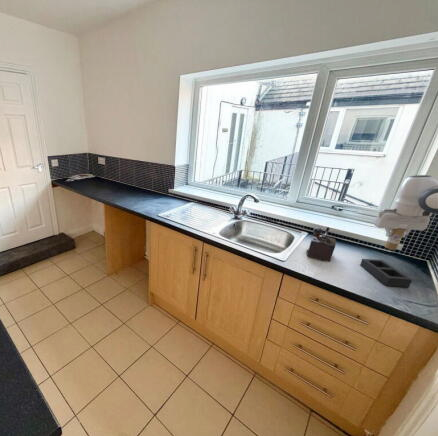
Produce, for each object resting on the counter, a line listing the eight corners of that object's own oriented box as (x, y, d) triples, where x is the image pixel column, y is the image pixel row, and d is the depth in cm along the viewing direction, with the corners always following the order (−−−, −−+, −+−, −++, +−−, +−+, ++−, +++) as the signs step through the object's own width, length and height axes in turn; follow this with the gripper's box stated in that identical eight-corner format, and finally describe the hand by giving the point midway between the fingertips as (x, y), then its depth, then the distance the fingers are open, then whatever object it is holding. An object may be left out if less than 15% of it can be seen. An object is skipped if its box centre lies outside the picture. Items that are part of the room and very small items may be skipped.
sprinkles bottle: (385, 248, 119) (396, 223, 113) (382, 244, 122) (393, 220, 117) (398, 251, 117) (410, 225, 111) (394, 247, 120) (406, 222, 115)
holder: (379, 267, 120) (382, 260, 118) (408, 287, 104) (412, 279, 103) (359, 265, 121) (362, 258, 119) (385, 285, 105) (389, 277, 104)
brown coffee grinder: (307, 248, 137) (316, 218, 130) (331, 254, 131) (341, 223, 124) (303, 259, 125) (312, 228, 118) (329, 267, 119) (340, 234, 112)
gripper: (386, 210, 111) (376, 238, 116) (437, 213, 108) (424, 241, 113) (376, 206, 117) (366, 232, 121) (423, 208, 114) (412, 235, 119)
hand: (394, 236), depth 117 cm, fingers closed on sprinkles bottle, 4 cm apart
